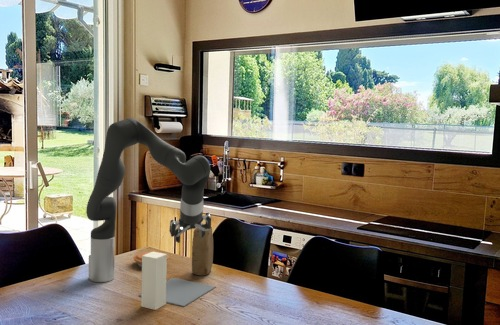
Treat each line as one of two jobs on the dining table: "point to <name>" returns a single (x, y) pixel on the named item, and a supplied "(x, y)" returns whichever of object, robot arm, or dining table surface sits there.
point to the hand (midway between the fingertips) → (189, 238)
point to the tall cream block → (154, 280)
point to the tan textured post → (202, 252)
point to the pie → (139, 257)
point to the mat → (184, 291)
